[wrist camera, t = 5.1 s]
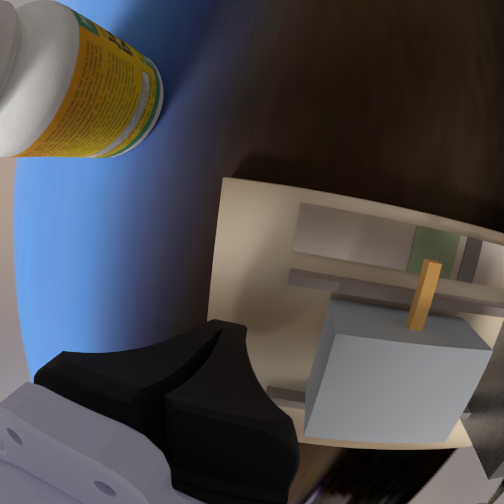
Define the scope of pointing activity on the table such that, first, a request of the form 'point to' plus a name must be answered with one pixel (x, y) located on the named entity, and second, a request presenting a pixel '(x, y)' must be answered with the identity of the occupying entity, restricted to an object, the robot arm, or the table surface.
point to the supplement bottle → (71, 86)
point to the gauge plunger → (393, 370)
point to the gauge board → (339, 278)
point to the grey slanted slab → (489, 413)
